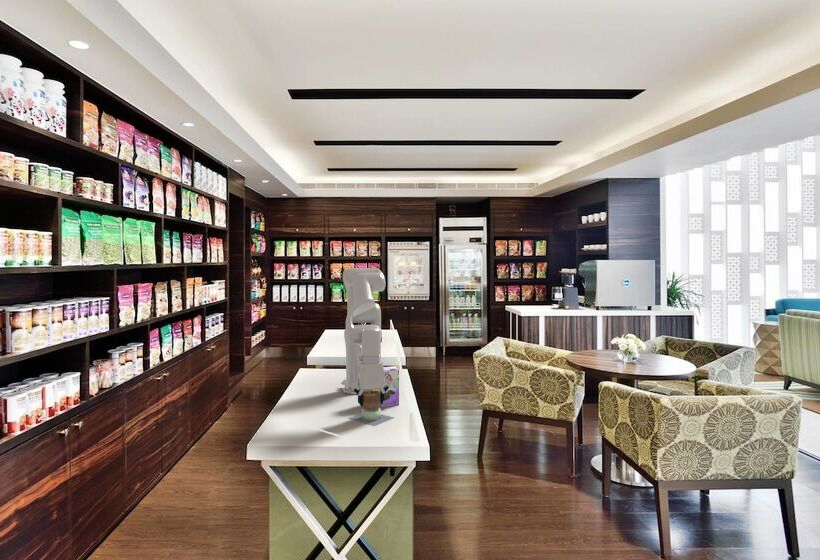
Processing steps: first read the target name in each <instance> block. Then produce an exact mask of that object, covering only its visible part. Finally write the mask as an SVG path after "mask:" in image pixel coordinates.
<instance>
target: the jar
mask: <svg viewBox="0 0 820 560" xmlns="http://www.w3.org/2000/svg"><path fill="white" fill-rule="evenodd" d="M360 411H361V413H360V414H361V419H362V420H364V421H377V420H380V419H381V414H382V409H381V407H379V408H378V409H372V410H370V409H363V408H362V407H361V410H360Z"/></svg>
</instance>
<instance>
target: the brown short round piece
mask: <svg viewBox="0 0 820 560" xmlns="http://www.w3.org/2000/svg"><path fill="white" fill-rule="evenodd" d="M362 396H363V405H362V406H360V407H361V409H362V408H363V409H370V410H372V409H378V408H381V392H380V391H379V390H375V389H371V390H364V391H363V392H362Z"/></svg>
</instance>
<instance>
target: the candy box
mask: <svg viewBox="0 0 820 560" xmlns="http://www.w3.org/2000/svg"><path fill="white" fill-rule="evenodd" d="M384 375H385V378H386V379H388V380H389V381H391V382H392V384H391V385H390V387H389V388H388V390H387V391H386V392H385V394H384V401H383V404H381V407H382V408H384V407H393V406H399V405H400V369H399V367H397V366H384ZM386 384H387V383H386V382H385V386H386ZM375 390H379V391H380V389H375ZM381 407H380V408H381Z"/></svg>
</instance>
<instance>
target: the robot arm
mask: <svg viewBox="0 0 820 560" xmlns="http://www.w3.org/2000/svg"><path fill="white" fill-rule="evenodd" d="M342 282H343V285H344V288H345V291H346V295H347V298H346V299H347V300H346V301H347V308H346V309H347V312H346V313H347V315H346V319H345V328H344V331H343V336H344V344H345V368H346V369H345V379H343V380H342V381H341V383H340V384H341V385H343V386H344V387H343V388H342V392H343V393H345V394H348V395H357V403H358V405H360V407H361V406H362V405H363V396H362V392H363V391H364V390H371V389H380V392H381V404H383V401H384V394H385V392H386V391H387V390H388V388H389V387H390V385H391V384H392V382H391V381H389V380H388V379H386V378H385V375H384V367H385V365H384V363H383V362H382V355H381V353H382V341H381V340H382V338H383V337H382V336H383V332H382V330H383V329H382V310H381V306H380V304H378V303H377V302H375V296H374V292H377V293H378V292H384V291H385V289H386V283H387V282H386V277H385V275H384V273H383V272H382V271H381V270H380V269H379V268H377V267H376V268H375V267H372V268H371V267H350V268H346V269H344V270H343V272H342ZM361 323H363V324H361ZM364 323H370V324H364ZM385 382H386V383H387V384H386V386H385Z"/></svg>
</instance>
